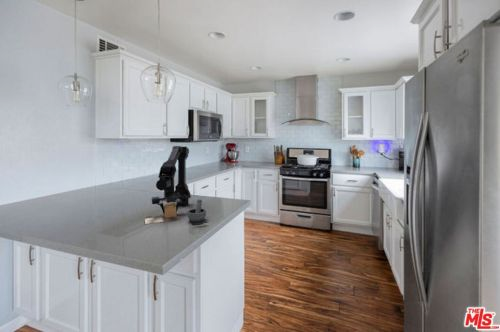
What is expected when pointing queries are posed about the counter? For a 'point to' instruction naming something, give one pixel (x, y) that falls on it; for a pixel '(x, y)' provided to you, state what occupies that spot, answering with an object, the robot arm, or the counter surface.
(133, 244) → the counter surface
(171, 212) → the tan wooden cube
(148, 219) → the board
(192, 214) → the mortar and pestle
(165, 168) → the robot arm
